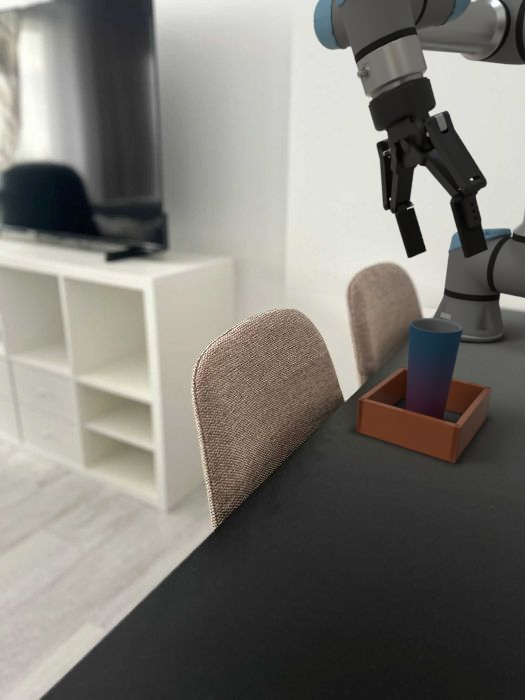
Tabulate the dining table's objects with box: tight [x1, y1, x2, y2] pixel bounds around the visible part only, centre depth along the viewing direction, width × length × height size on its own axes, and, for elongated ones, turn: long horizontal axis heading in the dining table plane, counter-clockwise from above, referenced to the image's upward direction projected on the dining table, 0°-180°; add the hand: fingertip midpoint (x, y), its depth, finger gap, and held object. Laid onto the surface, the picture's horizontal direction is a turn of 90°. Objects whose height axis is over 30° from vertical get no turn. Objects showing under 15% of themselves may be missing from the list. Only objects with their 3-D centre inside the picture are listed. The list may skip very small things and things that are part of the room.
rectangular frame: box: [355, 366, 492, 464], centre depth 73 cm, size 16×14×5 cm
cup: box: [405, 317, 463, 420], centre depth 71 cm, size 7×7×15 cm
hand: (444, 254), depth 67 cm, fingers open, 13 cm apart
